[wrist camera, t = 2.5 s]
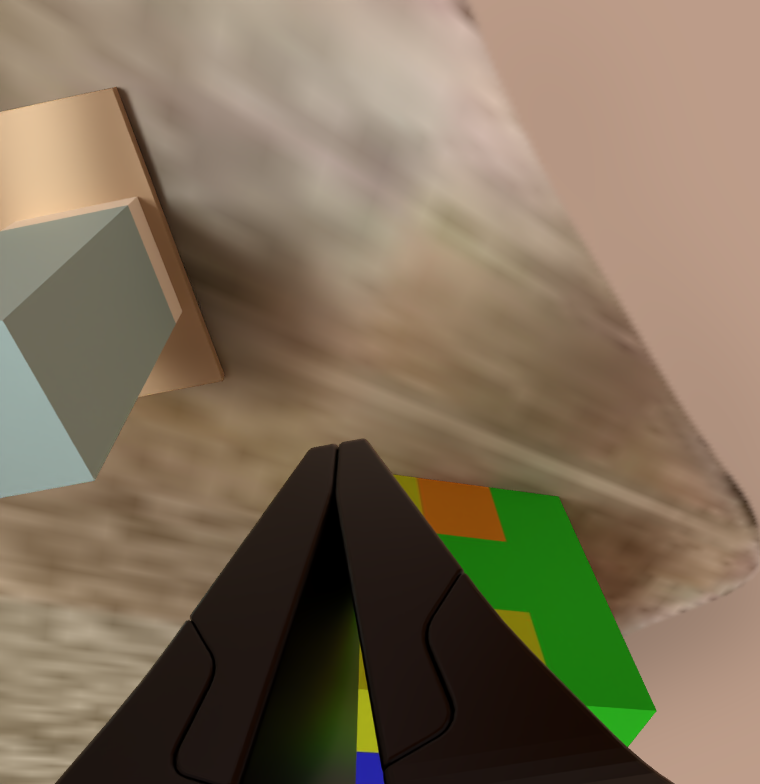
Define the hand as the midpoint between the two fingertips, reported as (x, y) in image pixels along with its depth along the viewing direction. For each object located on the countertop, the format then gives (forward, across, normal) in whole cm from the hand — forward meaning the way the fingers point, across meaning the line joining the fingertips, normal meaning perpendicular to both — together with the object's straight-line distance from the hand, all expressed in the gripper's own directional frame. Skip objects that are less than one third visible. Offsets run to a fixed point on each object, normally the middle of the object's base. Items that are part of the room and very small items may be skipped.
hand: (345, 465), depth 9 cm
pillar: (+13, +8, 0) cm, 15 cm away
